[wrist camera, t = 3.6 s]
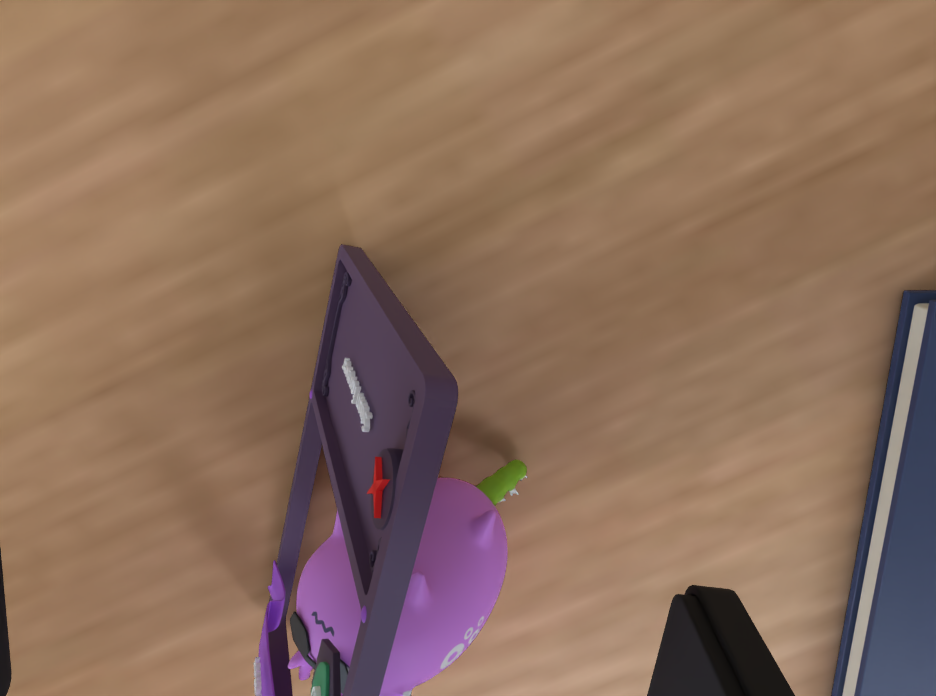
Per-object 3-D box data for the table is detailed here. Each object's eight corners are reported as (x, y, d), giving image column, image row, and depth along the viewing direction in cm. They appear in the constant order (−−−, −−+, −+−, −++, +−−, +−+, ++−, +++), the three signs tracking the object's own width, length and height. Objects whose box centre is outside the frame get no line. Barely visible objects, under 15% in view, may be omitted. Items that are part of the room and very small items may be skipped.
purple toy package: (359, 375, 7) (228, 971, 9) (758, 422, 9) (558, 907, 11) (300, 234, 13) (230, 623, 15) (546, 280, 15) (446, 620, 17)
